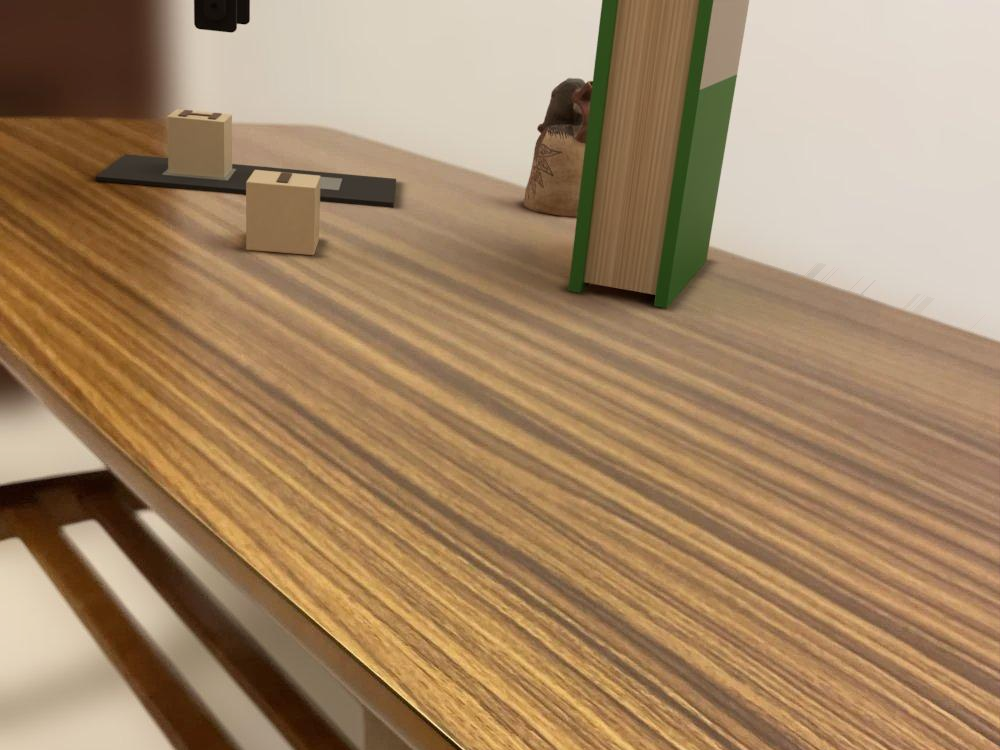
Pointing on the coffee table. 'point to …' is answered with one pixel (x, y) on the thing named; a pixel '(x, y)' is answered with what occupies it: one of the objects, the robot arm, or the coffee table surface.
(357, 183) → the word mat
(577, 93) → the figurine
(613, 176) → the hardback book
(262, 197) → the tile
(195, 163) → the tile
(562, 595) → the coffee table surface
